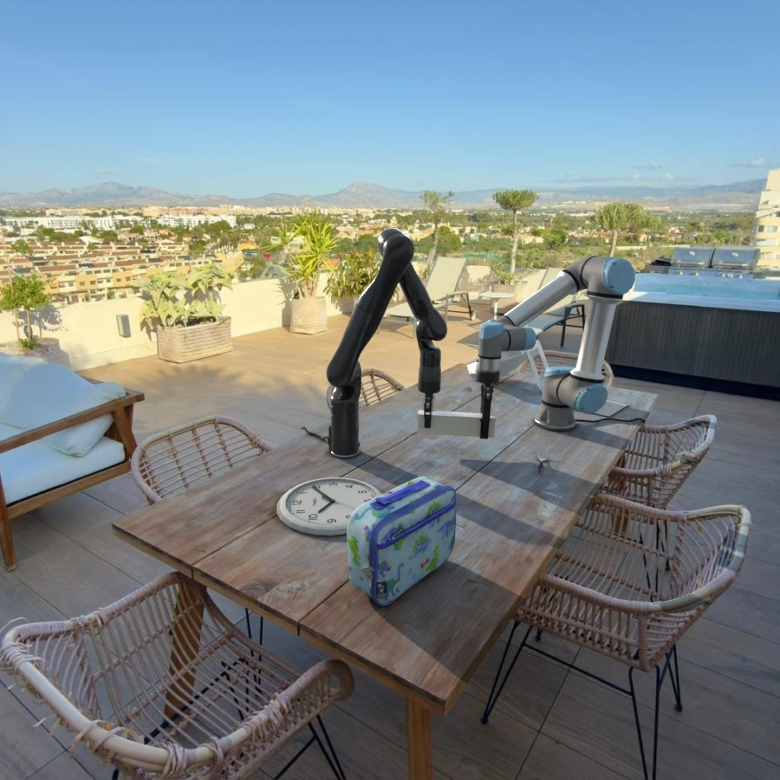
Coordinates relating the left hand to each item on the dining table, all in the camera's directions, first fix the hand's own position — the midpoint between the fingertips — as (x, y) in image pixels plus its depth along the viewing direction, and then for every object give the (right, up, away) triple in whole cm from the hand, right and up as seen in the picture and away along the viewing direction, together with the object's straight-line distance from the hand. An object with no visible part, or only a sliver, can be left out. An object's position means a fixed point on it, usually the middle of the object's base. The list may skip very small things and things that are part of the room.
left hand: (427, 424), depth 180 cm
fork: (+36, -12, -11) cm, 40 cm away
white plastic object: (+43, +14, +73) cm, 86 cm away
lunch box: (-10, -29, -66) cm, 73 cm away
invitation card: (+78, +5, +46) cm, 91 cm away
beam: (+9, -3, 0) cm, 10 cm away
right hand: (+19, -4, -1) cm, 19 cm away
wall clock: (-29, -20, -38) cm, 51 cm away
